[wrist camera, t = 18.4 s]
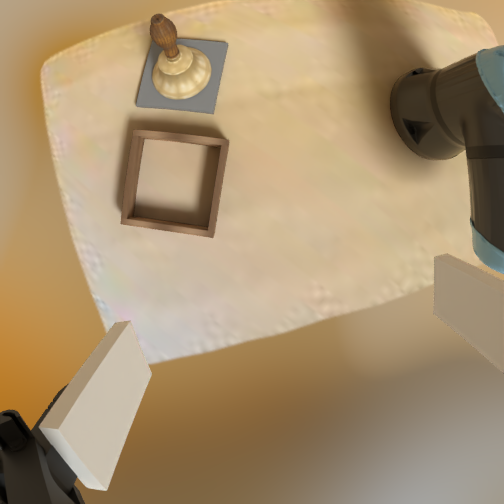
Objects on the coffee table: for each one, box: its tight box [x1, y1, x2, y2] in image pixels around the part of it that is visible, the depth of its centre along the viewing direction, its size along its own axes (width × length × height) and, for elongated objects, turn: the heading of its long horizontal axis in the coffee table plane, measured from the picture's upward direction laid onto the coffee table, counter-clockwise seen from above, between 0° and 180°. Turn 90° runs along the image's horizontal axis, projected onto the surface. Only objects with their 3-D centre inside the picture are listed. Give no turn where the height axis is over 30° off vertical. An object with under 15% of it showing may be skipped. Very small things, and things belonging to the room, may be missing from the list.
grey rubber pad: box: [136, 39, 228, 114], centre depth 37 cm, size 11×11×1 cm
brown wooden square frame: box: [121, 130, 229, 238], centre depth 40 cm, size 13×13×3 cm
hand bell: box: [150, 14, 212, 100], centre depth 29 cm, size 8×8×16 cm
